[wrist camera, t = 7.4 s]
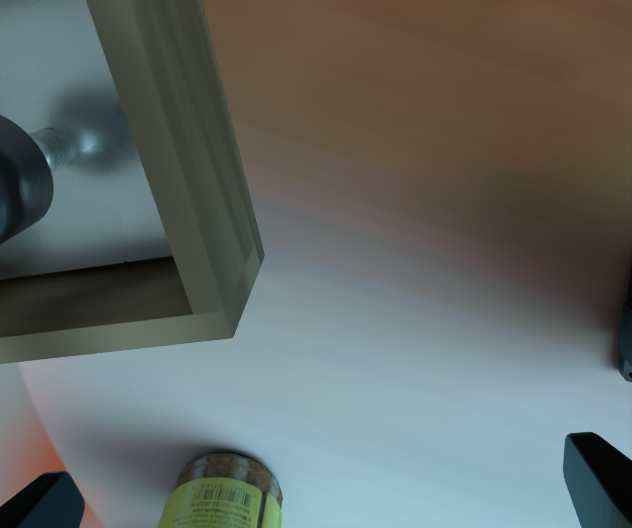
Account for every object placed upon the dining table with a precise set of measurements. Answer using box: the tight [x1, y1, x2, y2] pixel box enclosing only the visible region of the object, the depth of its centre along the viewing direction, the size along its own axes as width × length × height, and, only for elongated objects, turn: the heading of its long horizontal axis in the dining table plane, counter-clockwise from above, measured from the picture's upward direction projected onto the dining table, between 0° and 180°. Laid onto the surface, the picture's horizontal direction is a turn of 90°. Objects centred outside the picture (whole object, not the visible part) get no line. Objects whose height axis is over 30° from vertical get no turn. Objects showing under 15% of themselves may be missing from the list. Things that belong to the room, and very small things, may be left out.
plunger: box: [0, 0, 173, 280], centre depth 14 cm, size 9×9×7 cm
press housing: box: [0, 0, 265, 364], centre depth 15 cm, size 12×12×6 cm
